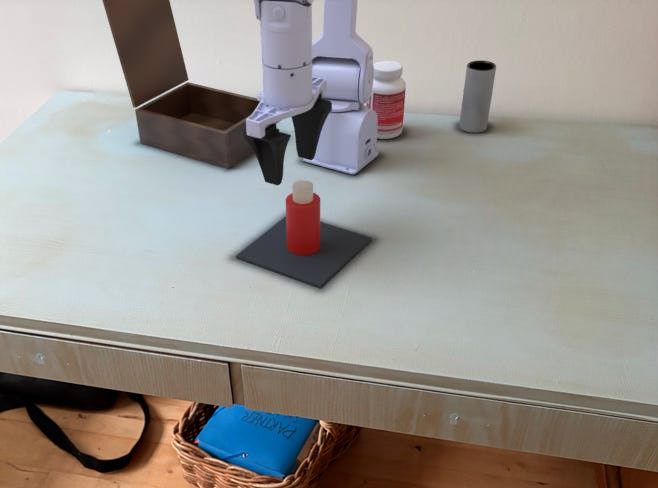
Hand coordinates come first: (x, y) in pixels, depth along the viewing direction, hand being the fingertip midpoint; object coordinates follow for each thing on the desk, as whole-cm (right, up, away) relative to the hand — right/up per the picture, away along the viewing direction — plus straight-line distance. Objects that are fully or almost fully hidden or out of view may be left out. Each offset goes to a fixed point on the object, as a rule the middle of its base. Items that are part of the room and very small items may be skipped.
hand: (290, 169), depth 94 cm
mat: (+2, -9, +5) cm, 11 cm away
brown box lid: (-22, +29, +26) cm, 45 cm away
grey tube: (+31, +15, +31) cm, 47 cm away
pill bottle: (+16, +14, +31) cm, 38 cm away
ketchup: (+2, -9, +5) cm, 10 cm away
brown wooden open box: (-13, +13, +31) cm, 36 cm away
